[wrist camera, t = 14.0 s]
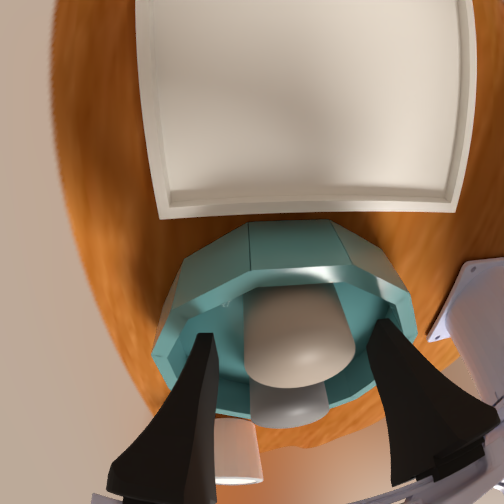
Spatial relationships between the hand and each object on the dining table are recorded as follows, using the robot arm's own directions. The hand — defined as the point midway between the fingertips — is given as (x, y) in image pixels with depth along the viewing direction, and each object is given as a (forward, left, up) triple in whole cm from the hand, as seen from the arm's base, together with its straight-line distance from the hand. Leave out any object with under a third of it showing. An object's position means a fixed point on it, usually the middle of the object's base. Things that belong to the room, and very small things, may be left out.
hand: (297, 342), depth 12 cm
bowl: (0, +3, -4) cm, 5 cm away
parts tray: (-1, -11, -4) cm, 12 cm away
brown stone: (0, 0, -3) cm, 3 cm away
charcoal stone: (0, +6, -3) cm, 7 cm away
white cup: (+5, +21, -4) cm, 22 cm away
